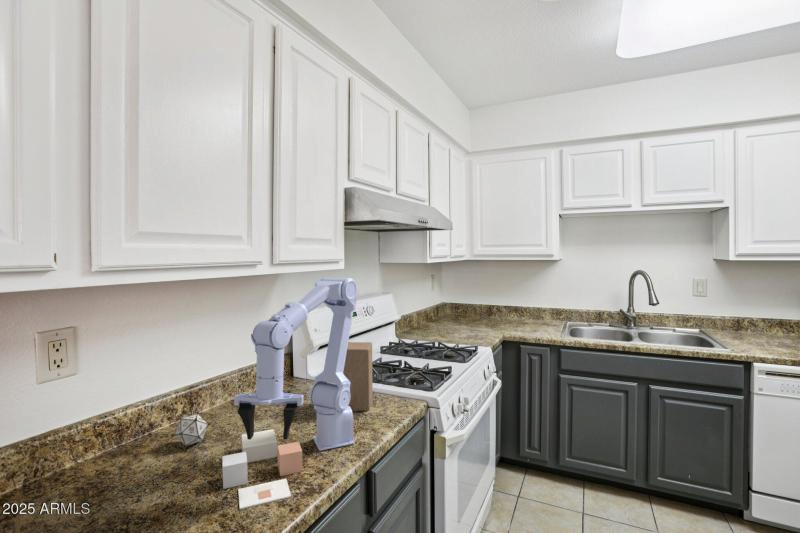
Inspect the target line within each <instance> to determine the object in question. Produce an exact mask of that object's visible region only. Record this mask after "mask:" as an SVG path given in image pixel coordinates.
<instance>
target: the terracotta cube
mask: <svg viewBox="0 0 800 533" xmlns="http://www.w3.org/2000/svg"><path fill="white" fill-rule="evenodd" d="M301 446H302V445H301V444H300V442H299V441H295V442H288V443H285V444H284V443H283V444H279V445H278V444H277V468H278V472H279V476H280V477H284V476H288V475H295V474H297V473H298V474H299V473H302V472H303V471H304V470H303V464H304V463H303V449H302V447H301Z"/></svg>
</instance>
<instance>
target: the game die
mask: <svg viewBox="0 0 800 533" xmlns="http://www.w3.org/2000/svg"><path fill="white" fill-rule="evenodd" d="M199 413H200V410H198V411H196V414H192V415H189V416H185V417H181V416H178V417H177V418H178V420H179V422H178V425H177V427H176V429H175V433H174V434H172V435H171V437H172V438H173V437H176V438H177V440H178V441H180V442H181V444H183V445H184V447H183V450H184V451H185V450H186V449H187V446H191V445H193V444H197V443H200V442H202V443H205V442H206V441H205V440H204V439H205V438H204V437H205V435H206V433H207V431H208V430H207V429H208V426H210V425H213V424H212V422H207V421H206V420H205V419H204V418H203V417H202V416H201V415H200V414H199Z"/></svg>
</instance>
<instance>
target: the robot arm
mask: <svg viewBox="0 0 800 533" xmlns="http://www.w3.org/2000/svg"><path fill="white" fill-rule="evenodd" d="M358 293H359V288H358V286H357V284H356V282H355V279H354V278H350V277H348V278H344V277H343V278H339V277H338V278H336V277H326V276H325V277H320V278H319V280H318V281H315V284H314V287H313V288H312V289H311V290H310V291H309V292H307V293H306V295H305V296H303V298H301V300H299V301H298V302H296V301H291V302H289V301H288V302H287V303H285V305H284V307H283V308H282V309H280V310H279V311H278V312H277V313H274V314H273V315H271V317H270V318H269V319H268V320H265V319H264V320H261V321H259V322H258V323H257V324H256V325H255V326H254V328H253V330H252V333H251V334H250V338H251V341H252V344H253V345H254V352H255V354H256V372H255V373H256V375H255V376H256V377H255V392H251V393H237V394H236V395H234V397H233V398H234V399H233V401H234V402H233V406H234V407H235V406H237V407H238V408H237V414H238V416H239V417H240V419H241V420H242V422H243V426H244V429H245V434H247V438H248V439H251V438H252V437H253V436H254V432H255V412H256V406H257V405H258V406H260V405H261V406H263V405H264V406H268V405H269V406H272V405H273V406H274V405H275V406H279V405H280V406H282V405H283V406H284V408H283V410H282V411H283V435H282V438H283V440H287V439H288V438H289V435H290V429H291V426H292V421H293V419H294V416H295V414H296V412H297V410H298V408H299V407H301V406H303V404H304V394H301V393H300V394H296V393H291V392H289V393H288V392H284V373H285V372H284V367H285V366H284V365H285V364H284V363H285V347H287V346H288V345H289V343H290V340H291V337H292V336H293V334H294V332H295V331H296V330H298V328H300V327H301V326H302V325H304V323H306V322H307V320H308V316H309V315H308V314H309V313H310V312H311V311H313V310H315V309H316V308H318V306H320V305H321V304H324V305H325V306H326V307H327V308H328V309H330V310H331V312H332V313H333V316H332V321H331V325H330V332H329V338H328V343H327V350H326V355H325V360H324V366H323V370H322V372H321V373H319V374H318V375H316V376H315V377H314V381H313V385H312V387H311V388H310V390H309V401H310V404H311V405H312V406H313V409H314V410H315V411H316V435H313V437H312V439H313V442H314V444H315V446H316V447H317V450H318V451H319V452H320V451H326V450H330V449H335V448H336V449H337V448H340V447H344V446H351V445H354V444H355V440H354V438H355V437H354V436H355V435H354V415H353V414H354V413H353V411H352V410H351V407H350V406H348V405H349V402H350V397H351V395H350V381H349V380H348V379H347V378H346V377H345V375H344V374H343V371H344V365H345V359H346V353H347V347H348V342H350V341H349V340H350V335H351V328H352V327H351V326H352V321H353V317H354V316H353V315H354V310H356V306H357V300H358V295H359V294H358Z"/></svg>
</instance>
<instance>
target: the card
mask: <svg viewBox="0 0 800 533" xmlns="http://www.w3.org/2000/svg"><path fill="white" fill-rule="evenodd" d="M289 498H292V494H291V490H290V486H289V484H288V480H287V478H282V479H278V480H277V479H276V480H273V481H269V482H264V483H261V484H260V483H259V484H256V485H250V486H247V487H242V488H238V504H239V510H244V509H247V508H252V507H256V506H260V505H264V504H267V503H272V502H277V501H281V500H285V499H289Z"/></svg>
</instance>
